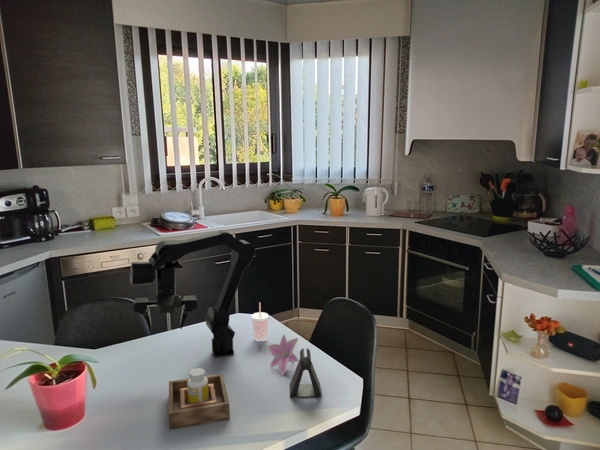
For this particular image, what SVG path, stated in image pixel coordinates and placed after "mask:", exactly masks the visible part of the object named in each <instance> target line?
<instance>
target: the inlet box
mask: <svg viewBox="0 0 600 450" xmlns="http://www.w3.org/2000/svg"><path fill="white" fill-rule="evenodd" d="M205 377H206V378H207V379H208V392H209V401H206V402H200V403H194V404H189V402H188V386H187V383H188V380H189V379H190V377H189V378H183V379H177V380H169V381H168V408H167V409H168V410H167V411H168V427H169V431H172V430H178V429H182V428H187V427H194V426H201V425H205V424H211V423H217V422H223V421H227V420H230V419H231V418H230V417H231V413H230V401H229V396H228V392H227V387H226V382H225V379H224V373H218V374H216V373H215V374H210V375H205Z"/></svg>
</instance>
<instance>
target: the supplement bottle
mask: <svg viewBox="0 0 600 450" xmlns="http://www.w3.org/2000/svg"><path fill="white" fill-rule="evenodd" d="M205 371H206V370H205V369H204V368H201V367H197V368H193V369H191V370H189V378H190V379H189V378H188V379H189V380H188V383H187V386H188V402H189V404H194V403H200V402H206V401H209V392H208V379H207V378H206V377H205V376H206V372H205Z"/></svg>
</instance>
